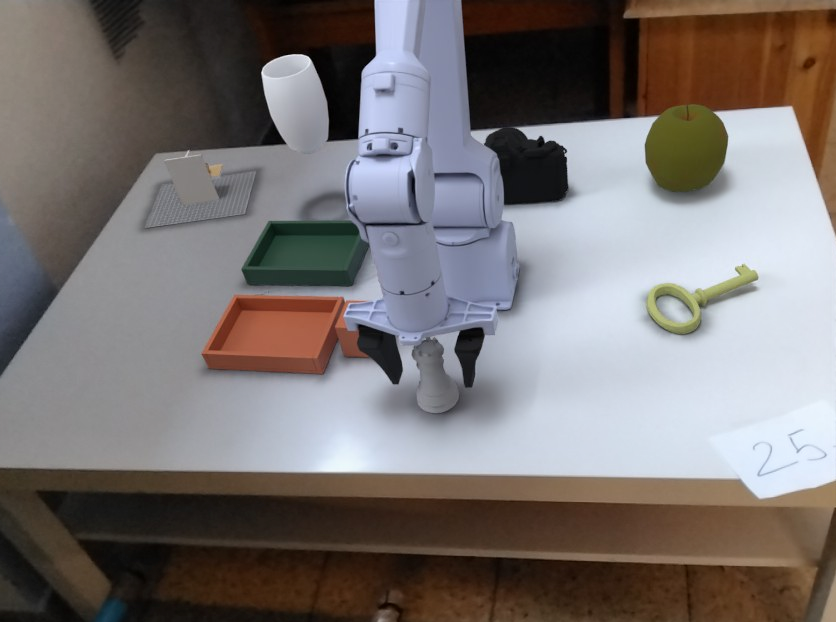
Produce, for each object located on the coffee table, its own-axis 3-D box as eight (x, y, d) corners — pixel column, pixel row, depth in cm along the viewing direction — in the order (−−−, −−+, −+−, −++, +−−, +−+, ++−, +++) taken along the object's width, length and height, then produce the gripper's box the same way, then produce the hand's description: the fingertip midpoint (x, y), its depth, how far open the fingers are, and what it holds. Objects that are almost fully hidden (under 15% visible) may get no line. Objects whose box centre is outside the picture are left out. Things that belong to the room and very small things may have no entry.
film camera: (570, 162, 113) (567, 101, 106) (568, 204, 106) (565, 142, 100) (461, 169, 116) (452, 110, 110) (452, 210, 110) (442, 150, 103)
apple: (678, 215, 101) (684, 135, 93) (627, 183, 107) (628, 105, 100) (740, 183, 103) (751, 102, 96) (687, 153, 110) (692, 75, 102)
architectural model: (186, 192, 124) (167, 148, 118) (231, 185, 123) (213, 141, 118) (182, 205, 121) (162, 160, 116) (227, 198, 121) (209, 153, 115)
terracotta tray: (348, 312, 98) (343, 296, 97) (323, 374, 92) (317, 358, 90) (240, 309, 102) (234, 294, 100) (208, 368, 95) (201, 353, 94)
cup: (363, 208, 113) (326, 63, 98) (318, 232, 111) (273, 86, 96) (338, 188, 118) (298, 46, 103) (294, 210, 116) (247, 68, 101)
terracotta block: (391, 330, 95) (384, 300, 92) (382, 358, 92) (373, 328, 89) (355, 329, 96) (346, 300, 93) (344, 356, 93) (334, 327, 90)
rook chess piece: (429, 422, 84) (416, 367, 79) (410, 396, 87) (396, 341, 82) (467, 403, 85) (457, 348, 80) (447, 378, 88) (435, 323, 82)
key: (761, 286, 90) (764, 270, 89) (680, 341, 86) (681, 326, 85) (710, 257, 95) (711, 242, 93) (631, 309, 91) (631, 294, 90)
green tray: (373, 235, 108) (368, 219, 107) (351, 286, 102) (346, 270, 100) (274, 235, 112) (268, 220, 110) (247, 284, 105) (240, 269, 104)
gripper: (321, 302, 73) (355, 404, 83) (481, 305, 70) (497, 412, 79) (344, 253, 78) (373, 355, 88) (494, 253, 74) (508, 360, 84)
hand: (433, 379), depth 84 cm, fingers open, 7 cm apart
